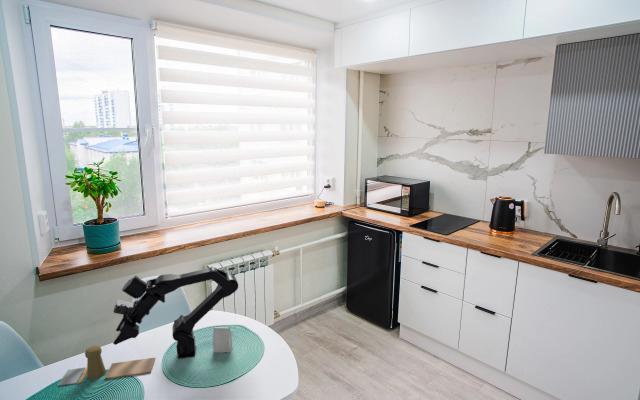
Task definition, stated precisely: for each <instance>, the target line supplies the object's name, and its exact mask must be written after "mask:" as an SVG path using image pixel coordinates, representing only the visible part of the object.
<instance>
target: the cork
mask: <svg viewBox="0 0 640 400" xmlns="http://www.w3.org/2000/svg"><path fill="white" fill-rule="evenodd" d="M102 352H103V351H102V347H101V346H100V345H96V344H95V345H91V346H90V347H89V346H88V347H87V348H86V350H85V352H84V356H85V358H87V359H86V361H87V364H86V365H87V367H86V368H87V374H86V378H87V379H88V380H90V381H91V380H97V379H100V378H102V377H103V376H105V374H107V370H106V367H105V364H104V361H103V360H104V359H103V358H102V355H101V354H102Z"/></svg>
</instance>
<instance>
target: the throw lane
mask: <svg viewBox="0 0 640 400" xmlns="http://www.w3.org/2000/svg"><path fill="white" fill-rule="evenodd" d="M155 361H156V357H147V358H141V359H136V360H135V359H134V360H127V361H120V362H113V363H111V365H110V367H109V368H108V371H107V372H106V375H105V376H104V380H111V379H112V380H113V379H118V378H125V377H131V376H139V375H144V374H145V375H147V374H151V373H152V370H153V367H154V364H155ZM86 376H87V367H78V368H72V369H67V371H66V372H65V374H64V376H63V377H62V378H61V380H60V381H59V383H58V384H57V387H63V386H70V385H76V384H81V383H82V382H83V380H84V379H85V377H86Z"/></svg>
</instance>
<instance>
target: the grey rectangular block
mask: <svg viewBox="0 0 640 400" xmlns="http://www.w3.org/2000/svg"><path fill="white" fill-rule="evenodd" d="M232 336H233V334H232V332H231V327H219V326H218V327H215V326H213V329H212V350H213V351H212V352H213V353H223V352H230V353H231V351H232V349H233V337H232ZM231 348H232V349H231ZM230 350H231V351H230Z"/></svg>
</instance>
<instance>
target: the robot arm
mask: <svg viewBox="0 0 640 400" xmlns="http://www.w3.org/2000/svg"><path fill="white" fill-rule="evenodd" d="M211 280H212V281H214V283H216V284H217V286H216V287H215V289H214V290H213V291H212V292H211V293H210V294H209V295H208V296H207V297H206V298H204V300H202V302H201V303H199V304H198V305H197V306H195V308H194V309H193V310H192V311H191V312H189V314H187V315H185V316H184V315H183V314H181V315H179V316H178V318H177V319H174V320H173V324H172V328H171V329H172V339H173V340H175V341H176V342H177V343H176V355H177V358H178V359H185V358H192V357H195V356H196V355H197V354H196V351H197V349H198V348H197V345H196V337H195V334H194V327H195V325H197V323H198V322H199V321H201V320H202V319H203V318H204V317H205V316H206V314H208V313H209V312H210V311H211V310H212V309H213V308H214V307H215V306H216V305H217V304H218V303H219V302H220V301H222V300H223V299H224V298H227V297H230V296H231V295H232V294H234V293H235V292H237V290H238V289H239V283H238V280H237V278H236V276H235V274H232V273H227V272H225V271H223V270H221V269H218V268H216V267H214V266H211V267H208V268H204V269H199V270H195V271H191V272H186V273H182V274H173V273H171V274H170V273H169V274H161V275H159V276H157V277H155V278H153V279H148V280H146V281H144V280H143V279H141V278H140V277H139V276H138V275H134V276H133V277H131V278H130V279H128V281H126V283H125V284H124V286H122V289H121V292H123V293H125V294H126V295H127V296H130V297H131V298H133V299H135V300H134V302H131V301H129V300H123V299H117V300H116V303H115V304H114V307H113V313H114V314H119V315H122V318H121V320H120V322H119V324H118V325H117V327H116V329H115V331H116V332H119V333H118V335H117V336H116V338H115V339H114V341H113V343H112V344H113V345H115V346H116V345H118V344H120V343H122V342H125V341H127V340H130V339H136V338H137V337H138V335H140V326H139V325H141V324H142V323H143V319H144V317H146V316H149V314H150V313H151V310H152V309H153V308H154V307H155V306H156V304H158V302H161V303H163V304H164V303H165V302H166V298H165V297H166V295H167V294H169V293H172V292H174V291H176V290H177V289H179V288H181V287H185V286H190V285H194V284H199V283H204V282H207V281H211ZM138 324H139V325H138Z"/></svg>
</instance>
